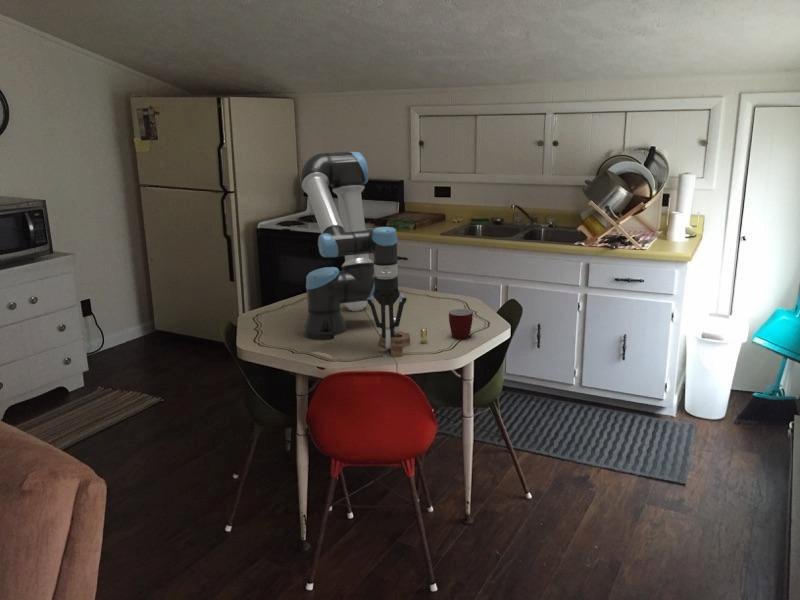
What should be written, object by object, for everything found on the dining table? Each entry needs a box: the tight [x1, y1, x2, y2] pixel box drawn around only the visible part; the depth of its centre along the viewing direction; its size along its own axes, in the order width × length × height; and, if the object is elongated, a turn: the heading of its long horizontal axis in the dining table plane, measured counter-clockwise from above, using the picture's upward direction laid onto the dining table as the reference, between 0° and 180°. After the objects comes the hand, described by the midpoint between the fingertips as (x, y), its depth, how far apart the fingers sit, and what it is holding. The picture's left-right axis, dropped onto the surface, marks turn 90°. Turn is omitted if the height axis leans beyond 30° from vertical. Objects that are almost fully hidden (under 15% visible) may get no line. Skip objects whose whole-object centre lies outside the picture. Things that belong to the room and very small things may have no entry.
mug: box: [448, 308, 474, 340], centre depth 238 cm, size 10×8×10 cm
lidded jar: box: [343, 301, 369, 312], centre depth 277 cm, size 11×11×9 cm
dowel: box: [419, 327, 428, 345], centre depth 231 cm, size 2×2×5 cm
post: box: [393, 316, 400, 338], centre depth 231 cm, size 3×3×9 cm
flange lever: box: [379, 330, 411, 358], centre depth 228 cm, size 18×10×4 cm, turn 3°
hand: (388, 347), depth 224 cm, fingers closed
